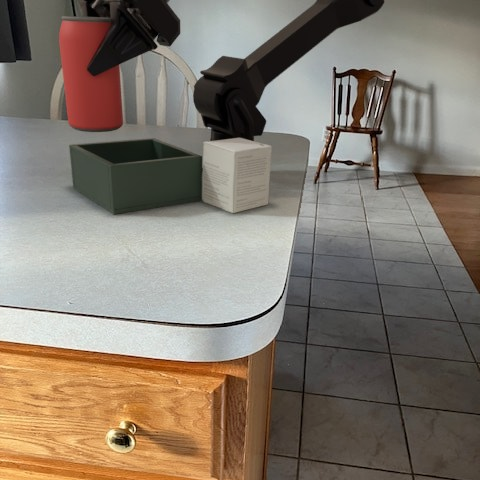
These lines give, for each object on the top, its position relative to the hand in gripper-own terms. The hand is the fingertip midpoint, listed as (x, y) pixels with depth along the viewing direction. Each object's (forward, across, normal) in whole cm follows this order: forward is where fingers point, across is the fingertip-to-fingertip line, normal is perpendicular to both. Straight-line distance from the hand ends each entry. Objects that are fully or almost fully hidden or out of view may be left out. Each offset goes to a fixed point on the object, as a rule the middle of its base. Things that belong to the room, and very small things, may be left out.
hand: (80, 70), depth 63 cm
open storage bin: (+7, +4, +13) cm, 15 cm away
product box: (0, +13, +20) cm, 24 cm away
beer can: (+4, 0, +6) cm, 7 cm away
